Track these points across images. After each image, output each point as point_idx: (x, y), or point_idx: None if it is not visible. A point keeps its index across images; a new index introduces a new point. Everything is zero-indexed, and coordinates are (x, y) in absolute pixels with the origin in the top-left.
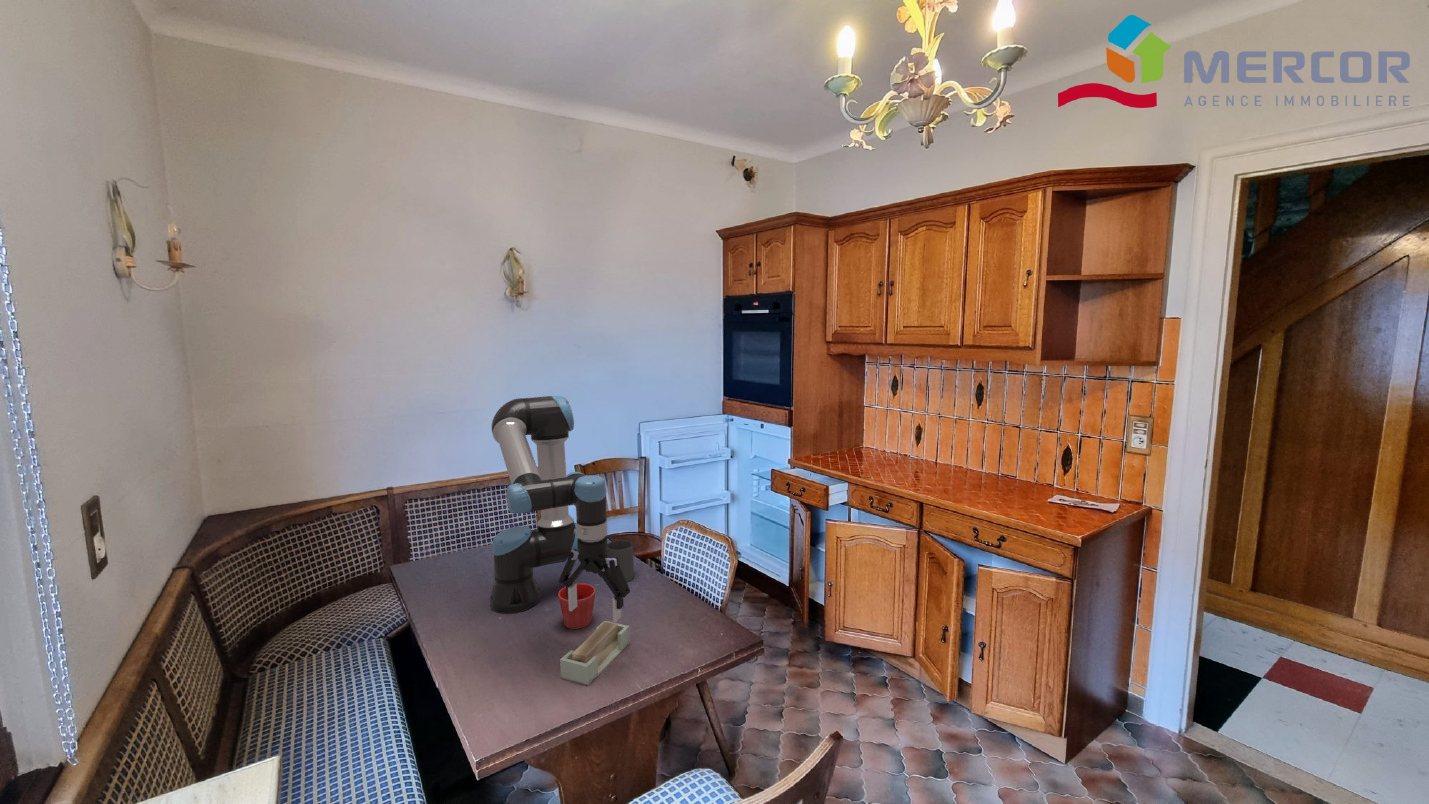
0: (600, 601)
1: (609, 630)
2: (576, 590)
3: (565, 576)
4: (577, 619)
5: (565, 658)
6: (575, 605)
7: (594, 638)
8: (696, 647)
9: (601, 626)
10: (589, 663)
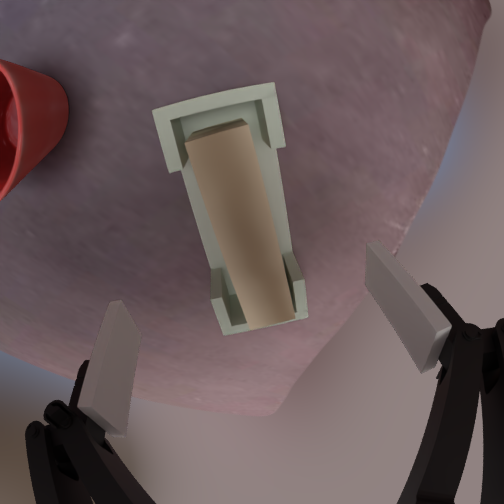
0: (13, 9)
1: (255, 180)
2: (101, 371)
3: (82, 484)
4: (49, 148)
5: (231, 327)
6: (125, 319)
7: (246, 248)
8: (432, 33)
9: (202, 177)
10: (304, 307)
